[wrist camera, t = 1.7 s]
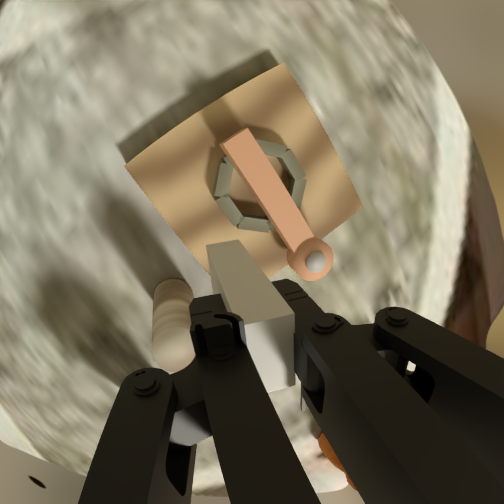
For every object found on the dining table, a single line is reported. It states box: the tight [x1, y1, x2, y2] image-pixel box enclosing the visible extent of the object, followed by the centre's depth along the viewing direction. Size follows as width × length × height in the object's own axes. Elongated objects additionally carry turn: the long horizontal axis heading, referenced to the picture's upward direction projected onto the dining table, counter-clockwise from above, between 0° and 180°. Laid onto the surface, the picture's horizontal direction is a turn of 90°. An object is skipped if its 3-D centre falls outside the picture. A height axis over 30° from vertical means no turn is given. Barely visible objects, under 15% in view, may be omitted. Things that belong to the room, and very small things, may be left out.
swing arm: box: [219, 128, 333, 281], centre depth 26 cm, size 16×4×3 cm, turn 33°
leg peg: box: [152, 278, 195, 372], centre depth 28 cm, size 4×4×10 cm
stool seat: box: [124, 63, 363, 279], centre depth 29 cm, size 18×18×4 cm
